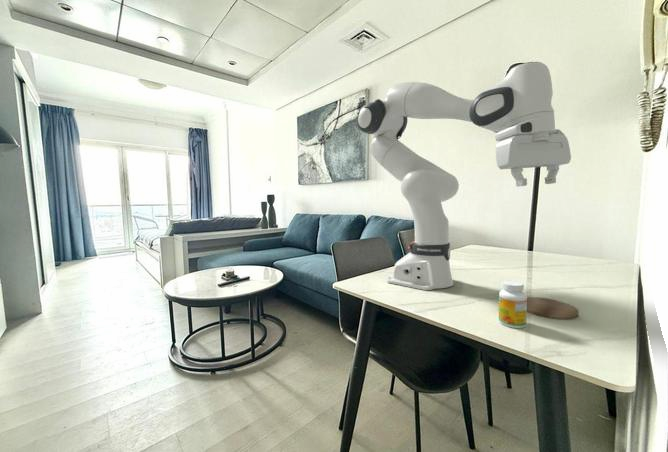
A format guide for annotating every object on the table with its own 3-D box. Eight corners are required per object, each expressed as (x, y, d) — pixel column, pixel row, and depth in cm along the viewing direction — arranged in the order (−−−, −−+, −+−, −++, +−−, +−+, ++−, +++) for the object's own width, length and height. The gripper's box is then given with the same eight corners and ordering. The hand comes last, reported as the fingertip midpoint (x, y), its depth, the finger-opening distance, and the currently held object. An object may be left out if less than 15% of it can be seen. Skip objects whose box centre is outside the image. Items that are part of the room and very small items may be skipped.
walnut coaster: (520, 313, 68) (520, 309, 68) (517, 298, 78) (518, 294, 78) (584, 323, 62) (584, 319, 62) (572, 305, 72) (572, 301, 72)
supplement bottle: (493, 319, 66) (494, 280, 65) (514, 317, 66) (515, 278, 65) (509, 329, 60) (510, 287, 59) (532, 328, 61) (533, 285, 60)
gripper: (550, 133, 74) (554, 184, 74) (489, 134, 69) (493, 189, 69) (576, 125, 68) (580, 180, 68) (511, 126, 63) (516, 185, 63)
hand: (536, 184), depth 69 cm, fingers open, 8 cm apart
